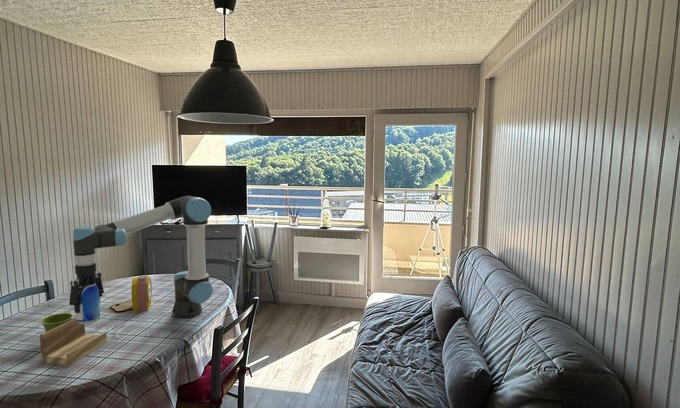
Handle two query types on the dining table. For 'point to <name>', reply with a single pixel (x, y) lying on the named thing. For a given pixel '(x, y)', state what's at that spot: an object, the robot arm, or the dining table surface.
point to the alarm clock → (141, 293)
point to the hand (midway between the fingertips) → (88, 315)
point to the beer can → (90, 304)
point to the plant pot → (55, 320)
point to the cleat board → (68, 343)
